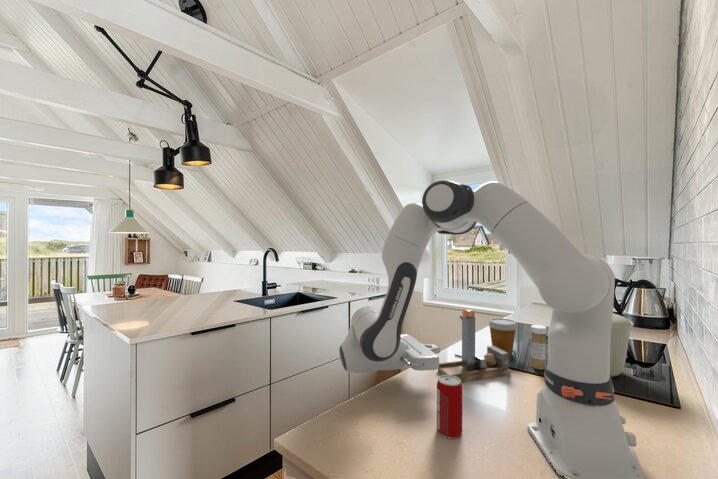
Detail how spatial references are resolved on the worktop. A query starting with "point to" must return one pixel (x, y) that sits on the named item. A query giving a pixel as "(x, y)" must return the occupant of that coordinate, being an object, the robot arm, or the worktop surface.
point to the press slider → (470, 343)
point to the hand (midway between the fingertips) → (437, 348)
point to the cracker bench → (494, 368)
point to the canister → (619, 343)
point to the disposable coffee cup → (503, 334)
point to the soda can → (449, 406)
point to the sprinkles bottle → (538, 346)
